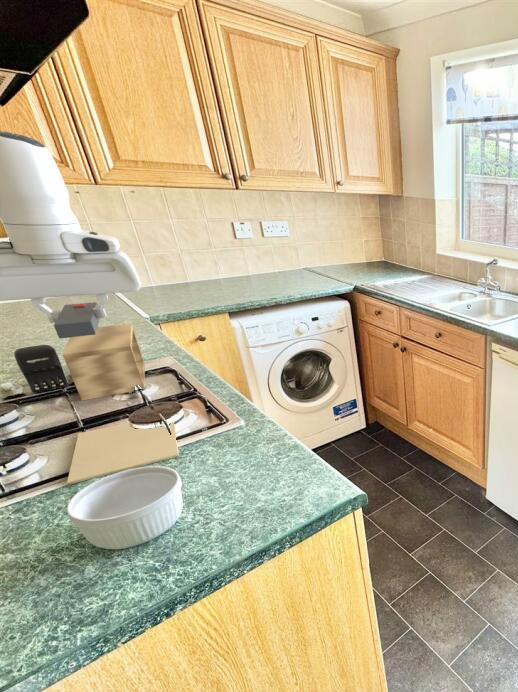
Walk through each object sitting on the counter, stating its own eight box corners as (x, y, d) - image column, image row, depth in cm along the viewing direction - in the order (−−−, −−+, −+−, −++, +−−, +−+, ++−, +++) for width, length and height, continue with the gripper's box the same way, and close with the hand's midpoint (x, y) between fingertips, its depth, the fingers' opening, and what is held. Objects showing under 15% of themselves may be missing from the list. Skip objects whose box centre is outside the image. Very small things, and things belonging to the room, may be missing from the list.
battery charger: (31, 395, 102) (10, 352, 98) (30, 390, 105) (10, 347, 100) (71, 388, 107) (53, 346, 102) (69, 383, 109) (52, 341, 105)
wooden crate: (81, 400, 102) (62, 354, 97) (89, 371, 116) (72, 330, 111) (145, 389, 109) (130, 346, 104) (144, 363, 123) (131, 323, 118)
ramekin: (195, 489, 76) (185, 457, 73) (184, 539, 65) (172, 505, 62) (98, 510, 70) (83, 477, 67) (69, 569, 59) (50, 532, 56)
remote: (59, 338, 71) (52, 323, 70) (69, 316, 81) (63, 303, 80) (96, 334, 74) (90, 319, 72) (101, 313, 84) (96, 300, 83)
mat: (67, 484, 75) (66, 482, 75) (79, 435, 89) (78, 433, 89) (178, 456, 84) (178, 454, 84) (173, 415, 98) (172, 413, 98)
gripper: (-53, 244, 63) (-10, 332, 69) (126, 241, 75) (150, 316, 81) (-40, 239, 67) (-1, 322, 73) (127, 237, 79) (149, 309, 85)
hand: (80, 319), depth 77 cm, fingers closed on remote, 4 cm apart
